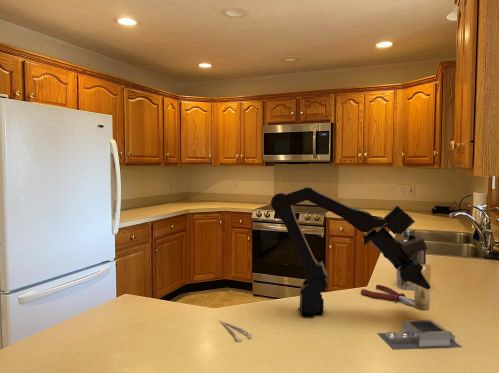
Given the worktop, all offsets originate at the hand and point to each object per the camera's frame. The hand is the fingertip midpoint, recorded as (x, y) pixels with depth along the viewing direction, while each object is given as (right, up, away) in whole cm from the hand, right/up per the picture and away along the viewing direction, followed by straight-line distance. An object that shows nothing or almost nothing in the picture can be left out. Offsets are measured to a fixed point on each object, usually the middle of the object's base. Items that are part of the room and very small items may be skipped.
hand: (427, 286), depth 104 cm
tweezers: (-57, -12, -3) cm, 58 cm away
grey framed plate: (-7, -11, -10) cm, 17 cm away
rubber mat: (-8, -12, -10) cm, 17 cm away
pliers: (-3, -11, +22) cm, 25 cm away
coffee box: (+11, -10, +35) cm, 38 cm away
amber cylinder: (-1, -7, +1) cm, 7 cm away
